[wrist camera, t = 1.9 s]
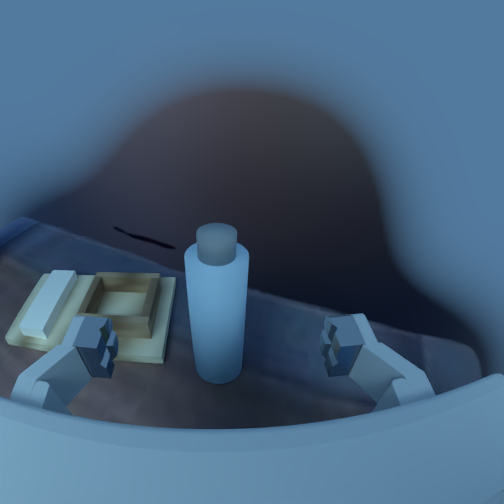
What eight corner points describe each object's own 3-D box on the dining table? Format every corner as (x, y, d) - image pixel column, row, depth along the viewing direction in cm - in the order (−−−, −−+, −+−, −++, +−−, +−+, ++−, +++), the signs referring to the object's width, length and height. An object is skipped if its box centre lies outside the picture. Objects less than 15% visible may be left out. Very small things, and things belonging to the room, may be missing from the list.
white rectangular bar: (23, 335, 29) (18, 326, 28) (56, 278, 39) (53, 269, 38) (47, 338, 29) (42, 330, 28) (77, 279, 39) (75, 270, 38)
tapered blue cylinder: (194, 383, 29) (179, 250, 20) (196, 347, 33) (186, 217, 24) (243, 383, 29) (253, 250, 21) (240, 347, 33) (248, 217, 25)
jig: (8, 344, 28) (-4, 323, 26) (46, 279, 40) (39, 260, 38) (163, 363, 30) (158, 341, 28) (176, 284, 42) (173, 262, 40)
